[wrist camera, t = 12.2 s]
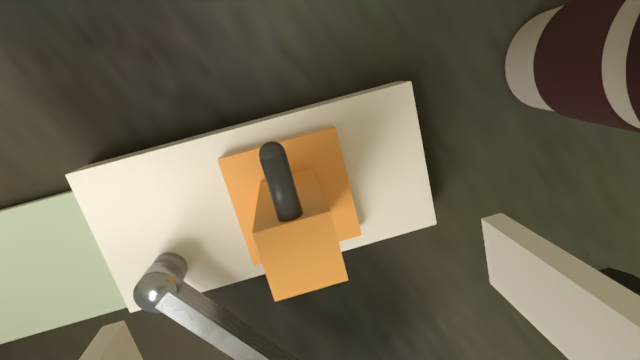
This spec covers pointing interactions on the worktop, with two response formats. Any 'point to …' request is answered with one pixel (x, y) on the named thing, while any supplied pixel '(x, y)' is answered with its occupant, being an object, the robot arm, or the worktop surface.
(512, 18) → the worktop surface
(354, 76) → the worktop surface
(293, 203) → the plug
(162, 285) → the grey metal rod
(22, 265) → the pad
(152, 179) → the socket block
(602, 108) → the coffee cup
